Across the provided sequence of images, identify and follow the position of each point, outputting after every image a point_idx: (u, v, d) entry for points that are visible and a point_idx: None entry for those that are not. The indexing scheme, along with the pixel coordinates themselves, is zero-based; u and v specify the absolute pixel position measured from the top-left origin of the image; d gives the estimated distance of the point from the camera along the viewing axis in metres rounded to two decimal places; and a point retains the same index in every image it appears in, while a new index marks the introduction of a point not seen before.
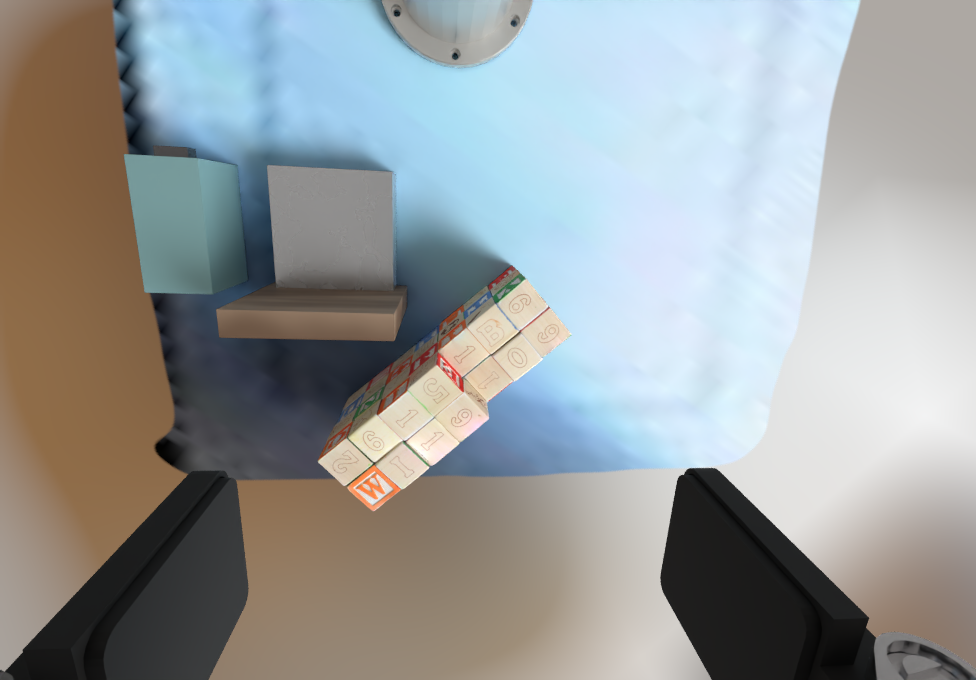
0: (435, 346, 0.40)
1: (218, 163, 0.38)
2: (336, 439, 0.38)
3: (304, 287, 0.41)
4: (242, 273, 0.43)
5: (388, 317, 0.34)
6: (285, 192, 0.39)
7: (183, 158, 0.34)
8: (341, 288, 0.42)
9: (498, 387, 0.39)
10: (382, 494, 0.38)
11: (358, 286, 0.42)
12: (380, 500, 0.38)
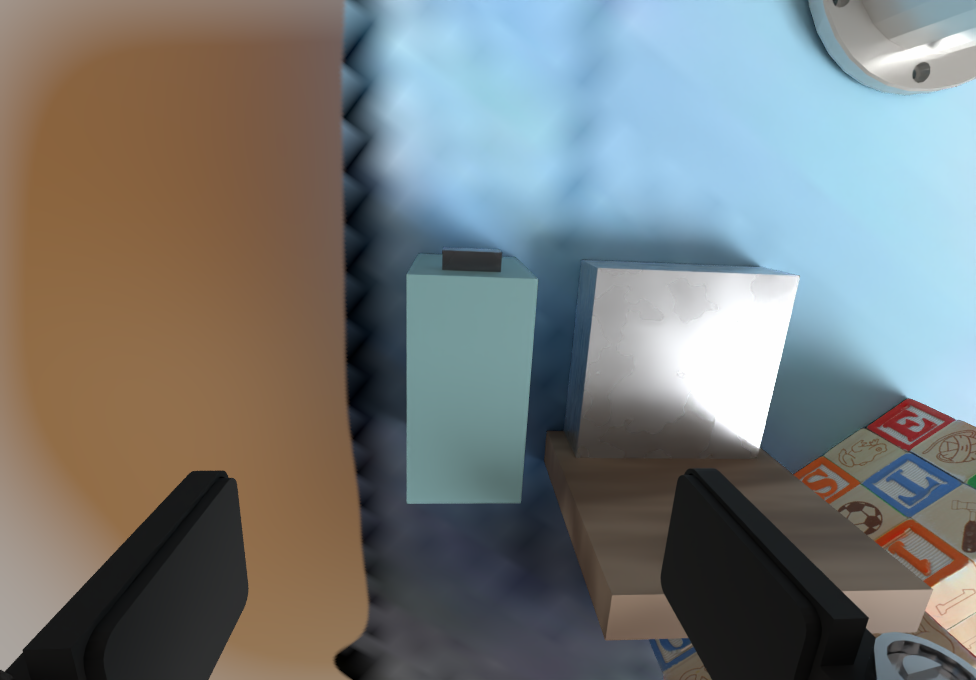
0: None
1: None
2: None
3: (620, 457, 0.25)
4: None
5: (920, 596, 0.17)
6: (620, 312, 0.23)
7: (513, 280, 0.18)
8: (678, 457, 0.25)
9: None
10: None
11: (704, 453, 0.26)
12: None
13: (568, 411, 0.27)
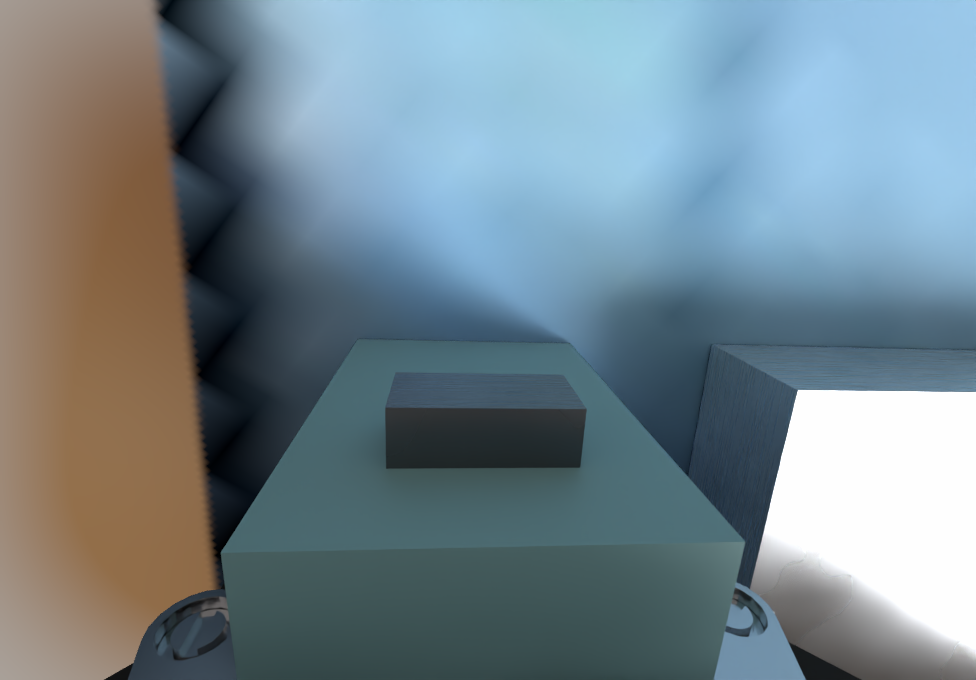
0: None
1: None
2: None
3: None
4: None
5: None
6: (836, 488, 0.10)
7: (652, 550, 0.05)
8: None
9: None
10: None
11: None
12: None
13: None
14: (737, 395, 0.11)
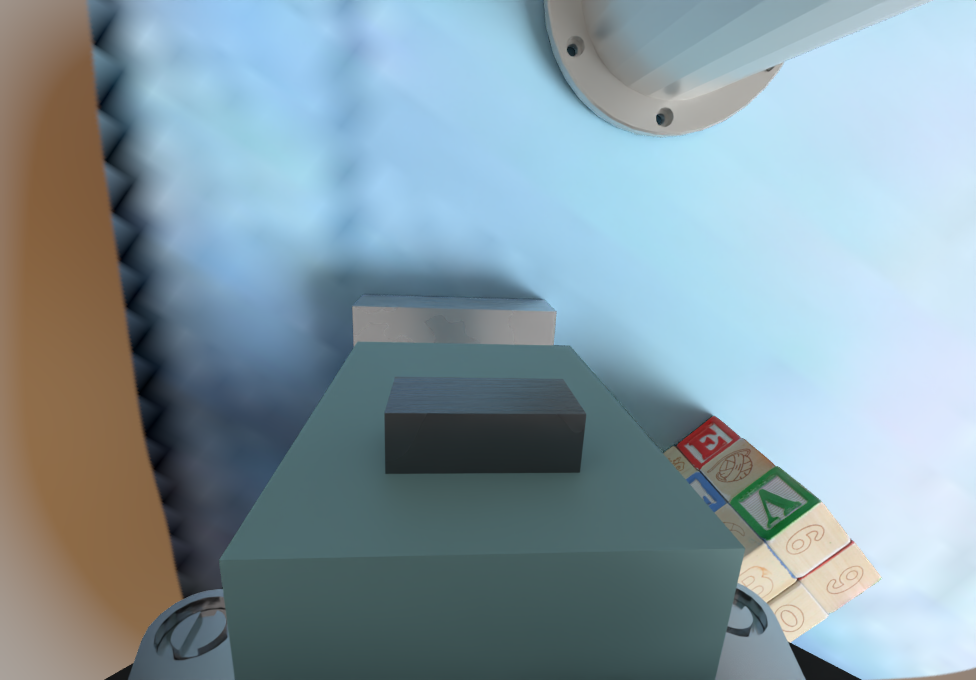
0: None
1: None
2: None
3: None
4: None
5: None
6: None
7: (651, 557, 0.05)
8: None
9: None
10: None
11: None
12: None
13: None
14: None
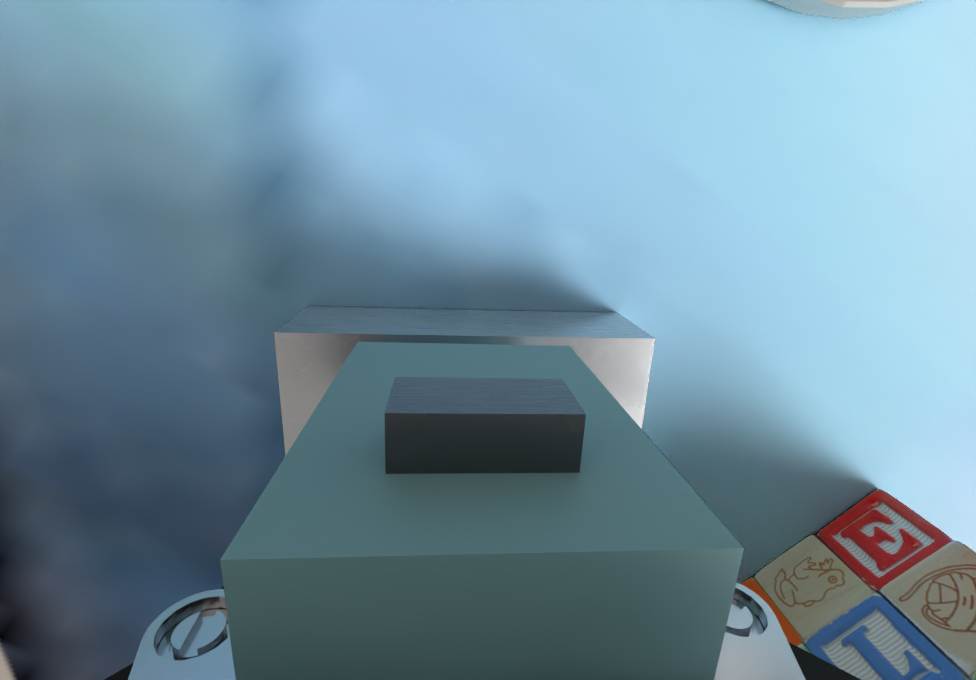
0: None
1: None
2: None
3: None
4: None
5: None
6: None
7: (650, 556, 0.05)
8: None
9: None
10: None
11: None
12: None
13: None
14: None
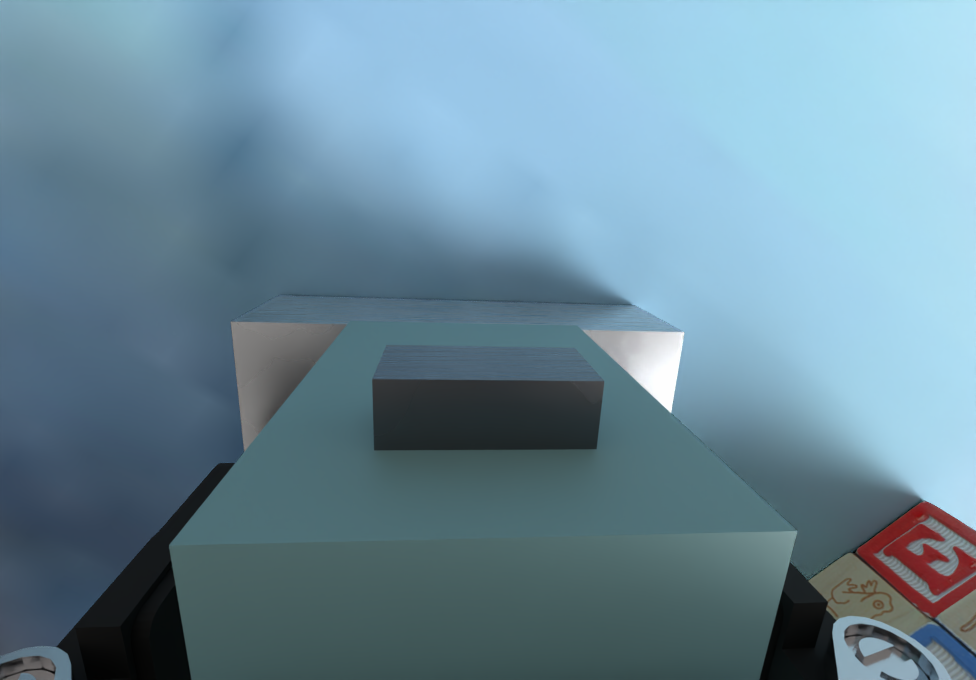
0: None
1: None
2: None
3: None
4: None
5: None
6: None
7: (687, 541, 0.04)
8: None
9: None
10: None
11: None
12: None
13: None
14: None
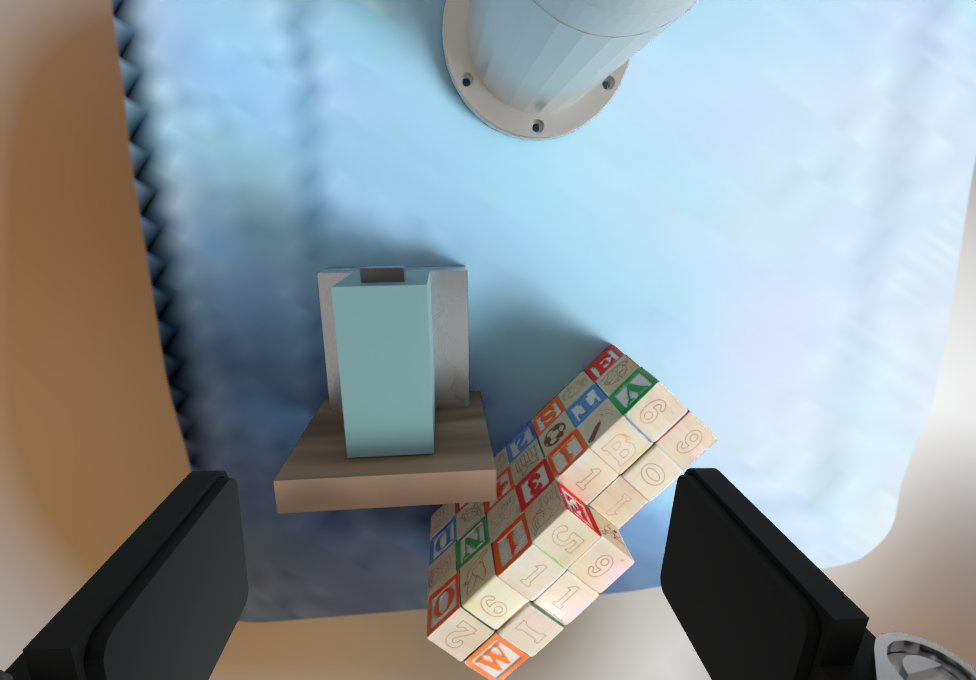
0: (545, 466, 0.32)
1: (428, 278, 0.29)
2: (442, 600, 0.31)
3: None
4: (434, 402, 0.33)
5: (488, 474, 0.27)
6: None
7: (408, 286, 0.25)
8: None
9: (631, 511, 0.32)
10: (507, 664, 0.30)
11: None
12: (506, 671, 0.30)
13: None
14: None
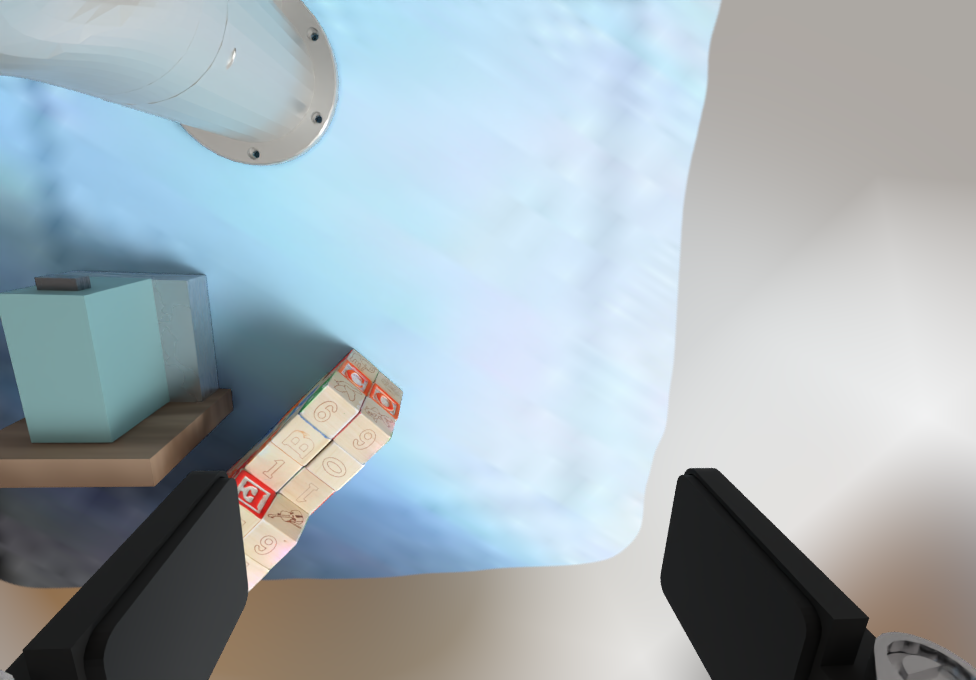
0: (251, 456, 0.36)
1: (119, 288, 0.32)
2: None
3: None
4: (160, 397, 0.37)
5: (143, 463, 0.30)
6: None
7: (67, 296, 0.29)
8: None
9: (319, 499, 0.36)
10: None
11: None
12: None
13: None
14: None
